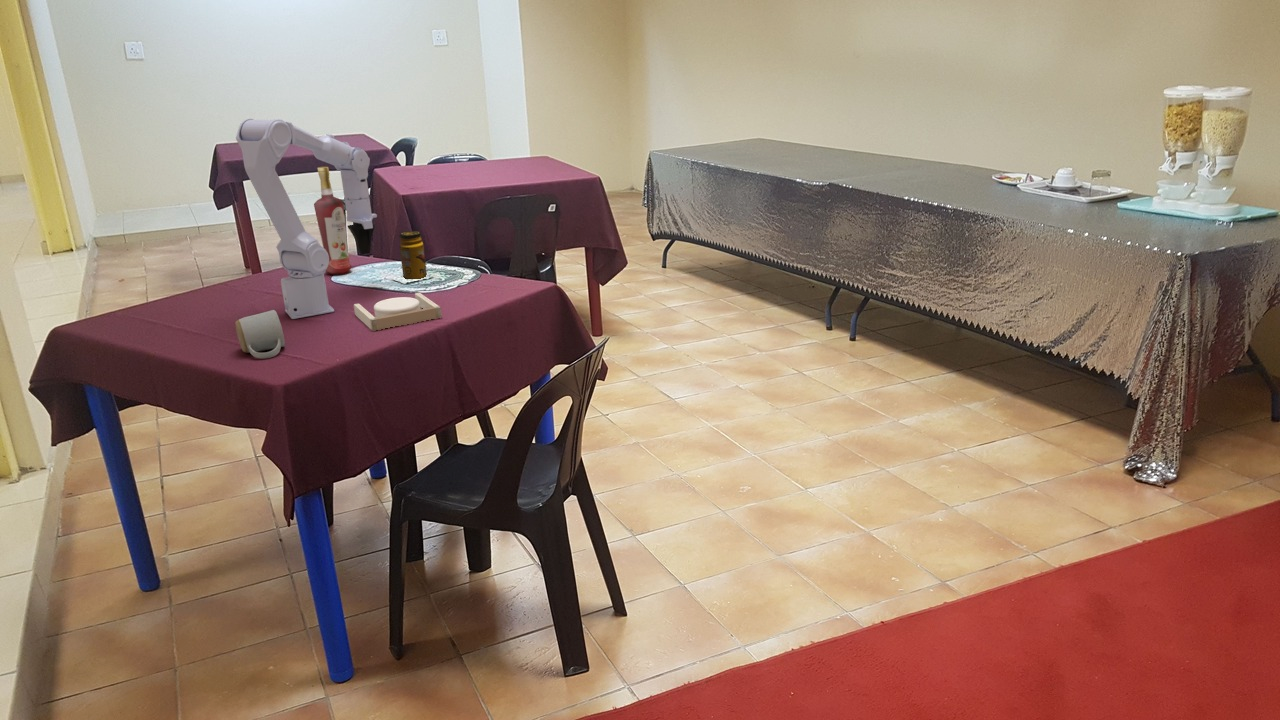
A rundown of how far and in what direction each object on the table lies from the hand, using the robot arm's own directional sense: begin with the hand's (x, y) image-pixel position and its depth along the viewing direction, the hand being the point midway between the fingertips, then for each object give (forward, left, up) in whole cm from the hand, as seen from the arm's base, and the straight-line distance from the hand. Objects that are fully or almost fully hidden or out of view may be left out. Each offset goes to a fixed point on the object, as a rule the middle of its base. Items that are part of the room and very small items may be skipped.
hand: (365, 253), depth 220 cm
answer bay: (-1, -26, -9) cm, 28 cm away
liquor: (-2, +23, -10) cm, 25 cm away
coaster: (-1, -27, -10) cm, 28 cm away
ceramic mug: (-30, -33, -10) cm, 46 cm away
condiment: (+12, +4, -10) cm, 16 cm away
